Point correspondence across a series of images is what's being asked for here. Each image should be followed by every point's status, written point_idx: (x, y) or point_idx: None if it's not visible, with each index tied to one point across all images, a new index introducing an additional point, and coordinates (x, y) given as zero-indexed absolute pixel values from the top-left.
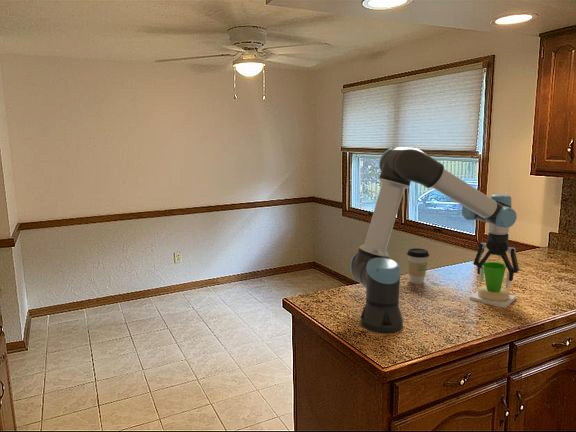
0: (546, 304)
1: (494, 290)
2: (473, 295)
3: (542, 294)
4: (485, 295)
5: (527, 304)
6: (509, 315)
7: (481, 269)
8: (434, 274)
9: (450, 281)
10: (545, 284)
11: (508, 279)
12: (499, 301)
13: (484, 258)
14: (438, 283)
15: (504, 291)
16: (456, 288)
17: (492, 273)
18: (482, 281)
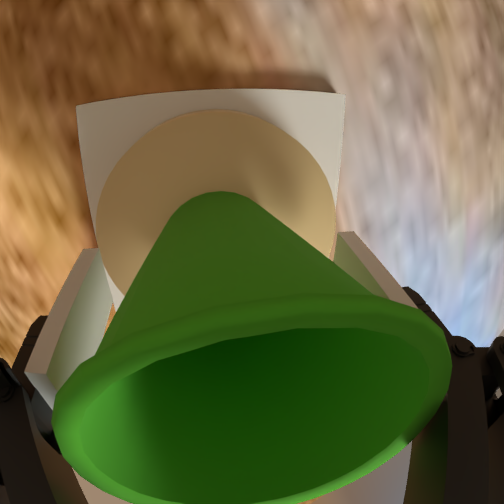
0: (11, 324)
1: (190, 201)
2: (332, 137)
3: None
4: (238, 113)
5: (42, 269)
6: (28, 17)
7: None
8: (493, 318)
9: (454, 299)
10: None
11: (52, 314)
12: (133, 144)
13: (470, 481)
14: (493, 240)
15: None
16: (433, 234)
17: (216, 259)
18: None
